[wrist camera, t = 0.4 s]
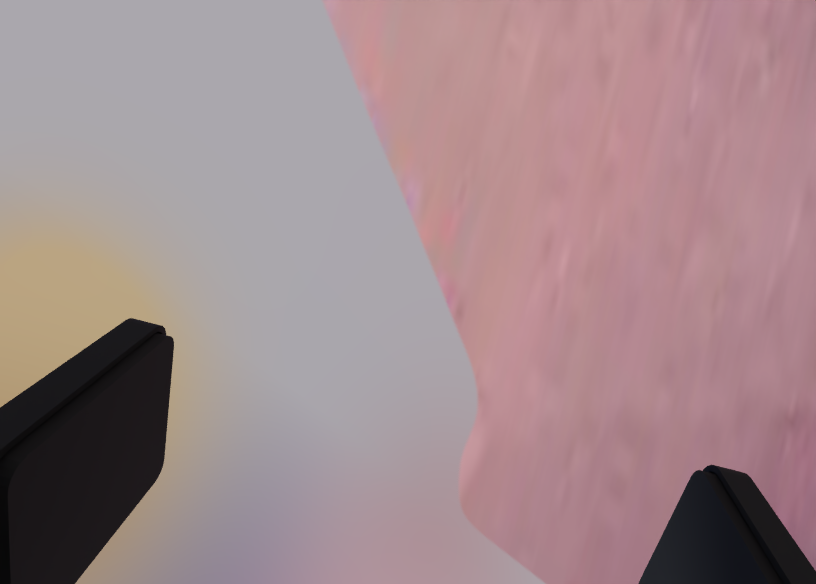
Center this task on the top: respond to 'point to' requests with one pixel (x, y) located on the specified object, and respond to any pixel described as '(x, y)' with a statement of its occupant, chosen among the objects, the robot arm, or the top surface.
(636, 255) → the top surface
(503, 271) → the top surface
